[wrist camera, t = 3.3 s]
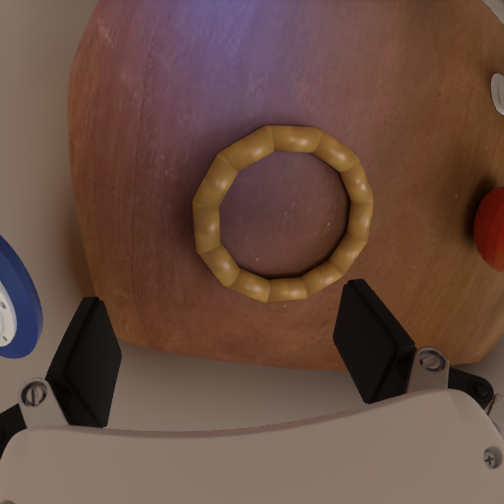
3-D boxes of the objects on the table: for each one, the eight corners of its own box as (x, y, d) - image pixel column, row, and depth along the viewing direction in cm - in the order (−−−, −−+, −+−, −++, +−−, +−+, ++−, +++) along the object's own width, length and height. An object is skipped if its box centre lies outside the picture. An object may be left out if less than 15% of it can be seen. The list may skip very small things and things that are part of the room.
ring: (201, 299, 24) (201, 312, 22) (189, 126, 18) (188, 127, 16) (352, 284, 26) (360, 295, 24) (372, 132, 20) (384, 134, 18)
